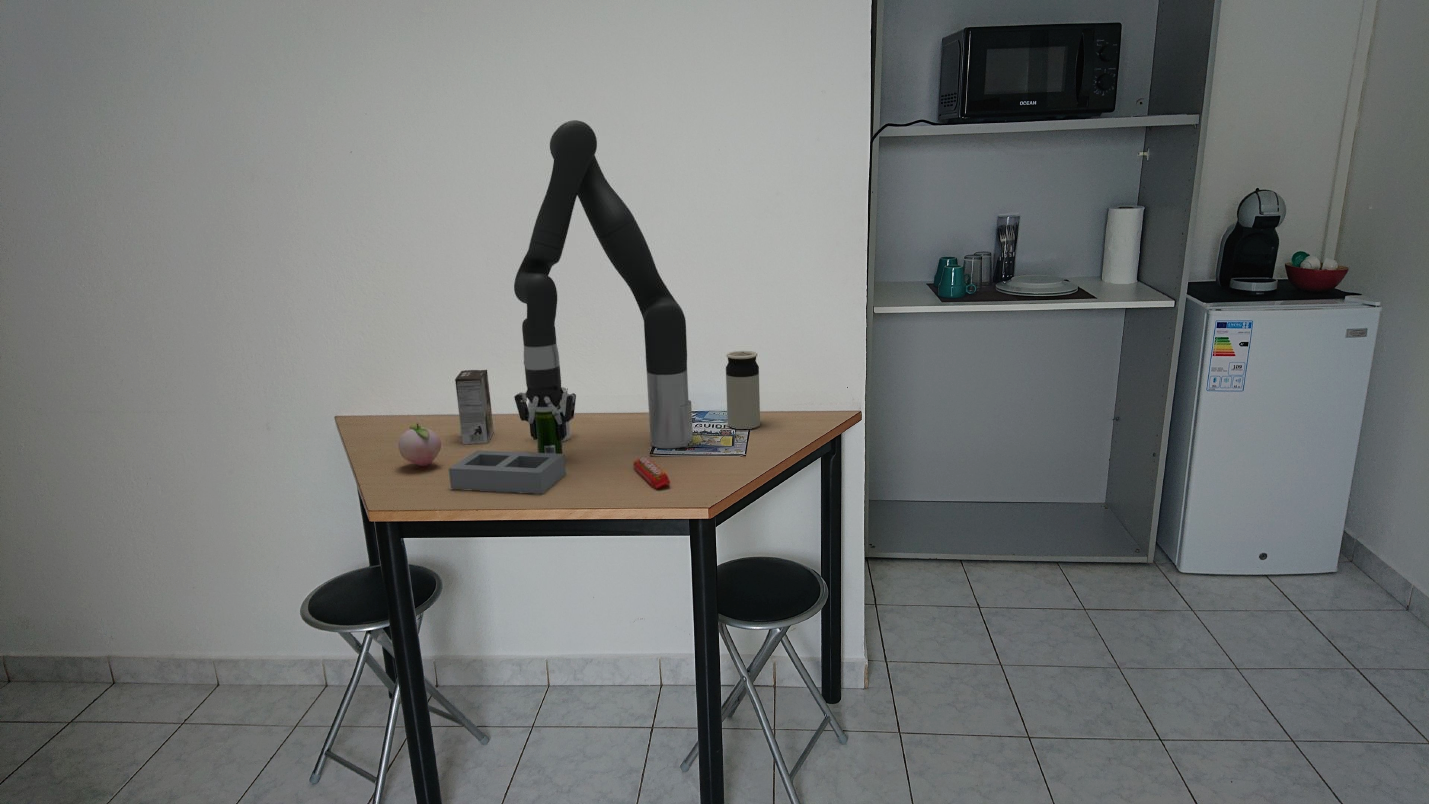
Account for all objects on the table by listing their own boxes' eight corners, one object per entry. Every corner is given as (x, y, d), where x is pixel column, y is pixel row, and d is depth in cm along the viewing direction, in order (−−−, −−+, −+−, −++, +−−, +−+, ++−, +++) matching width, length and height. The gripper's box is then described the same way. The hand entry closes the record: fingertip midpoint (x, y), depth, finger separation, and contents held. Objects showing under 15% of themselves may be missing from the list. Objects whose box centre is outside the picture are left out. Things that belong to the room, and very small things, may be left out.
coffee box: (468, 433, 221) (461, 370, 217) (494, 432, 222) (488, 368, 218) (461, 444, 213) (453, 378, 208) (488, 443, 213) (481, 377, 209)
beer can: (565, 457, 198) (560, 405, 195) (540, 461, 197) (535, 408, 194) (560, 451, 203) (555, 400, 200) (536, 454, 202) (531, 403, 199)
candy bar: (631, 469, 192) (630, 455, 191) (647, 466, 193) (647, 453, 192) (655, 492, 177) (654, 478, 176) (672, 489, 179) (671, 475, 178)
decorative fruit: (393, 468, 197) (387, 424, 195) (426, 458, 203) (421, 416, 200) (416, 476, 191) (410, 431, 189) (449, 466, 197) (444, 422, 194)
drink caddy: (565, 474, 189) (564, 454, 188) (542, 494, 178) (540, 472, 177) (479, 470, 194) (477, 450, 193) (451, 489, 182) (448, 468, 181)
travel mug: (754, 431, 214) (752, 357, 210) (723, 429, 217) (720, 356, 213) (764, 422, 222) (762, 351, 217) (734, 420, 224) (731, 349, 220)
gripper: (579, 361, 197) (585, 435, 201) (519, 360, 200) (526, 433, 204) (566, 368, 190) (572, 445, 194) (503, 368, 193) (511, 443, 197)
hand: (549, 438), depth 199 cm, fingers closed on beer can, 5 cm apart
